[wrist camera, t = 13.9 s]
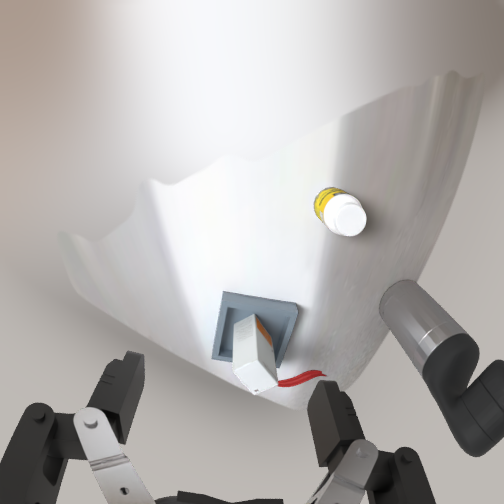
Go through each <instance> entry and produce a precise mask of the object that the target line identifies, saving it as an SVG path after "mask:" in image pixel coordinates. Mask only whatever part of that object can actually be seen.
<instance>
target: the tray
mask: <svg viewBox="0 0 504 504" xmlns="http://www.w3.org/2000/svg"><path fill="white" fill-rule="evenodd" d="M253 314H255V315H256V316H257V318H258V319H259V321H260V322H261V324H262V325H263V326H264V328H265V329H266V331H267V332H268V333H269V335H270V336H271V337H272V343H273V350H274V356H275V364H276V368H280V365H281V362H282V360H283V357H284V354H285V351H286V348H287V345H288V342H289V339H290V336H291V333H292V330H293V327H294V324H295V321H296V318H297V315H298V309H297V306H296V303H293V302H286V301H280V300H273V299H267V298H261V297H254V296H248V295H242V294H236V293H231V292H225V291H223V295H222V300H221V306H220V311H219V317H218V322H217V328H216V334H215V339H214V345H213V352H212V359H214V360H220V361H227V362H233V334H234V324H235V323H237V322H239V321H241V320H243V319H245V318H247V317H249V316H251V315H253Z"/></svg>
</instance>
